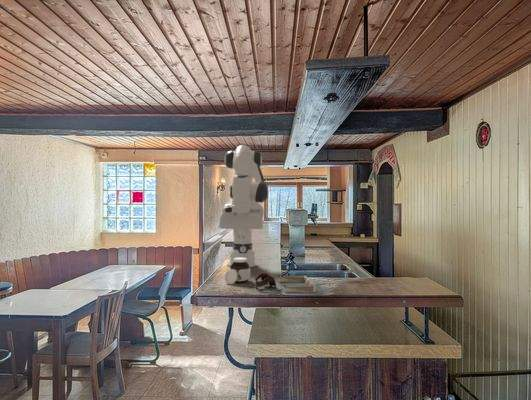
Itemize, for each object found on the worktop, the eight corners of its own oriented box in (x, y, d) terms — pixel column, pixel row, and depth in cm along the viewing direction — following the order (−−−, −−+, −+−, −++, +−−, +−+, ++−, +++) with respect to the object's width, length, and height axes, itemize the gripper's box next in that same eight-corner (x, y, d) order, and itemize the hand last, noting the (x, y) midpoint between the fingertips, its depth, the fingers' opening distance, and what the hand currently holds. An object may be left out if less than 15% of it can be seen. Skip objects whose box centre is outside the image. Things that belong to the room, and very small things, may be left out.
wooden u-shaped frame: (277, 281, 176) (277, 275, 176) (305, 281, 178) (306, 275, 178) (283, 292, 156) (283, 285, 156) (315, 291, 158) (316, 284, 158)
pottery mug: (280, 291, 160) (273, 276, 158) (261, 300, 160) (254, 286, 157) (274, 278, 172) (267, 265, 169) (256, 287, 171) (250, 273, 169)
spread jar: (251, 280, 179) (251, 257, 179) (247, 285, 168) (247, 261, 168) (227, 279, 180) (228, 256, 180) (223, 284, 169) (223, 260, 169)
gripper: (262, 208, 167) (262, 237, 168) (219, 208, 165) (219, 237, 165) (264, 209, 161) (263, 239, 161) (219, 208, 159) (219, 239, 159)
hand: (240, 238), depth 163 cm, fingers closed
